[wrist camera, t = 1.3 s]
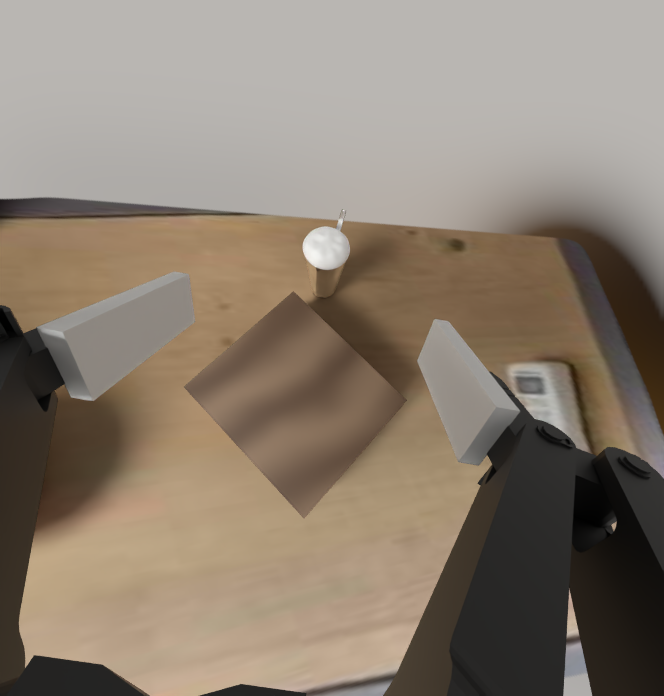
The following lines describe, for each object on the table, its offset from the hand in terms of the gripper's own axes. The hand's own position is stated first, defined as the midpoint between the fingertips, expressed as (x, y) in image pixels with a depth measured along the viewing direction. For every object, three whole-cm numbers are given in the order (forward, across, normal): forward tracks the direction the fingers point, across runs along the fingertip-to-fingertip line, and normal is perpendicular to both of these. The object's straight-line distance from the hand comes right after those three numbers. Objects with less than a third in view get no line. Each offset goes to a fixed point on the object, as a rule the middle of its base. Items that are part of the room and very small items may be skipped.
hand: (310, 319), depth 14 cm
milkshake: (+20, 0, -4) cm, 20 cm away
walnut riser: (+9, -1, -14) cm, 17 cm away
